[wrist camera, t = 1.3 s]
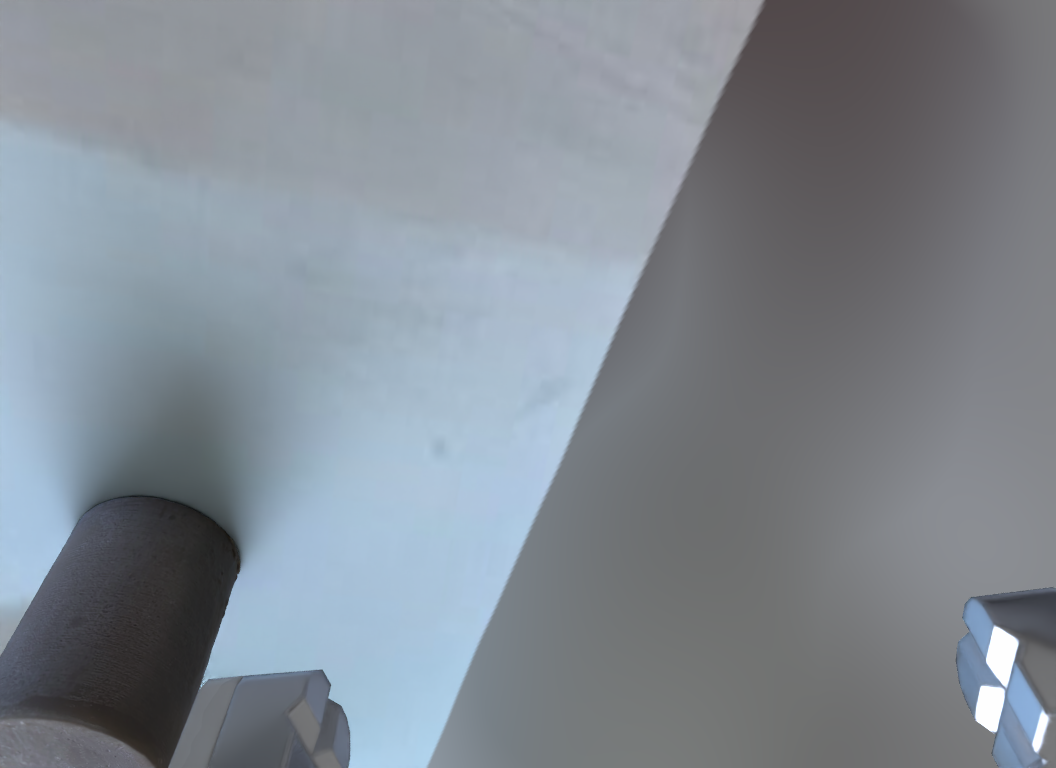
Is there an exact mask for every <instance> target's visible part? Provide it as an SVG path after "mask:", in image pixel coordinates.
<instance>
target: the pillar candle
mask: <svg viewBox="0 0 1056 768" xmlns="http://www.w3.org/2000/svg"><path fill="white" fill-rule="evenodd" d="M239 572H240V559H239V555H238V550H237V547H236V546H235V543H234V542H233V539H232V538H231V537H230V536H229V535H228V534H227V533H226V532H225V531H224V530H223V529H222V528H221V527H220V526H218V525H217V524H216V523H215V522H214V521H212V520H211V519H209V518H208V517H206V516H204V515H202V514H201V513H199V512H197V511H195V510H193V509H191V508H189V507H186V506H184V505H181V504H178V503H175V502H171V501H170V502H169V501H167V500H164V499H160V498H153V497H136V496H135V497H128V498H124V497H123V498H118V499H114V500H109V501H107V502H104V503H101V504H99V505H97V506H95V507H94V508H92V509H91V510H89V511H87V512H86V513H85V514H84V515H83V516H82V518H81V519H80V520H79V521H78V523H77V524H76V526H75V527H74V529H73V531H72V533H71V535H70V537H69V538H68V540H67V542H66V544H65V546H64V547H63V549H62V550H61V552H60V554H59V556H58V557H57V559H56V561H55V562H54V564H53V566H52V567H51V569H50V571H49V572H48V574H47V576H46V578H45V579H44V581H43V583H42V585H41V586H40V588H39V590H38V592H37V594H36V595H35V597H34V599H33V600H32V602H31V604H30V606H29V607H28V609H27V611H26V612H25V614H24V616H23V618H22V620H21V621H20V623H19V625H18V627H17V628H16V630H15V632H14V634H13V635H12V637H11V639H10V641H9V642H8V644H7V646H6V648H5V649H4V651H3V653H2V655H1V656H0V768H168V767H169V765H170V762H171V760H172V757H173V755H174V752H175V749H176V747H177V744H178V742H179V739H180V737H181V734H182V732H183V729H184V727H185V724H186V722H187V719H188V716H189V714H190V711H191V709H192V706H193V704H194V701H195V699H196V696H197V694H198V691H199V688H200V685H201V682H202V679H203V676H204V673H205V670H206V667H207V664H208V661H209V658H210V654H211V650H212V647H213V645H214V642H215V639H216V637H217V634H218V631H219V628H220V624H221V622H222V618H223V617H224V615H225V610H226V606H227V605H228V601H229V597H230V594H231V591H232V588H233V585H234V582H235V581H236V579H237V574H239Z"/></svg>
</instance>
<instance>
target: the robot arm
mask: <svg viewBox="0 0 1056 768" xmlns="http://www.w3.org/2000/svg"><path fill="white" fill-rule="evenodd" d="M962 618H963V620H964V622H965V624H966V626H967V628H968V629H969V631H970V632H969V633H967V634H966V635H965V636H964V637H963V638H962V639H961V640H960V641H959V642H958V647H957V655H956V664H957V671H958V677H959V683H960V686H961V689H962V692H963V695H964V697H965V700H966V702H967V705H968V706H969V709H970V711H971V713H972V715H973V717H974V719H975V720H976V721H978V722H979V723H980V724H982V725H983V726H984V727H986V728H987V729H989V730H990V731H991V732H993V733H994V734H996V737H995V741H994V745H993V750H992V756H993V757H994V760H995V762H996V764H997V766H998V767H999V768H1056V588H1053V587H1050V588H1043V589H1034V590H1026V591H1018V592H1010V593H1002V594H993V595H985V596H978V597H971V598H970V599H969V600H968V601H967V602H966V603H965V607H964V612H963V617H962ZM330 687H331V684H330V682H329V680H328V679H327V677H326V675H325V673H324V672H323V670H311V671H298V672H286V673H274V674H261V675H249V676H238V677H228V678H218V679H208V681H207V682H206V683H205V684H204V685H203V686H202V688H201V689H200V690H199V692H198V694H197V696H196V699H195V701H194V704H193V706H192V709H191V711H190V714H189V716H188V719H187V722H186V724H185V727H184V729H183V732H182V734H181V737H180V739H179V742H178V744H177V747H176V749H175V752H174V755H173V757H172V760H171V762H170V765H169V767H168V768H348V766H349V760H350V731H349V726H348V721H347V717H346V715H345V713H344V711H343V709H342V706H341V705H339V704H337V703H335V702H334V701H332V700H330V699H328V696H329V692H330Z"/></svg>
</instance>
